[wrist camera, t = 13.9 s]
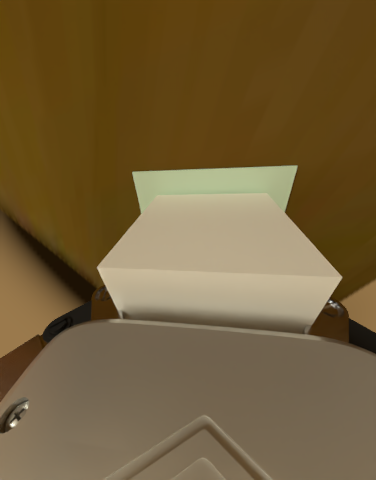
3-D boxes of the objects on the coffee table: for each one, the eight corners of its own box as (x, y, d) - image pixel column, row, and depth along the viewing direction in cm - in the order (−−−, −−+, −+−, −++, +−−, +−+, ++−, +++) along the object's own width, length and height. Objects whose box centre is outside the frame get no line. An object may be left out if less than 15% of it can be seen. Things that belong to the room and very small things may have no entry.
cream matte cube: (266, 192, 11) (342, 277, 5) (249, 274, 15) (278, 378, 9) (157, 195, 12) (96, 267, 6) (169, 271, 16) (142, 362, 10)
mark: (296, 165, 11) (297, 166, 10) (263, 284, 17) (263, 285, 16) (133, 171, 12) (132, 172, 12) (157, 279, 18) (156, 280, 18)
